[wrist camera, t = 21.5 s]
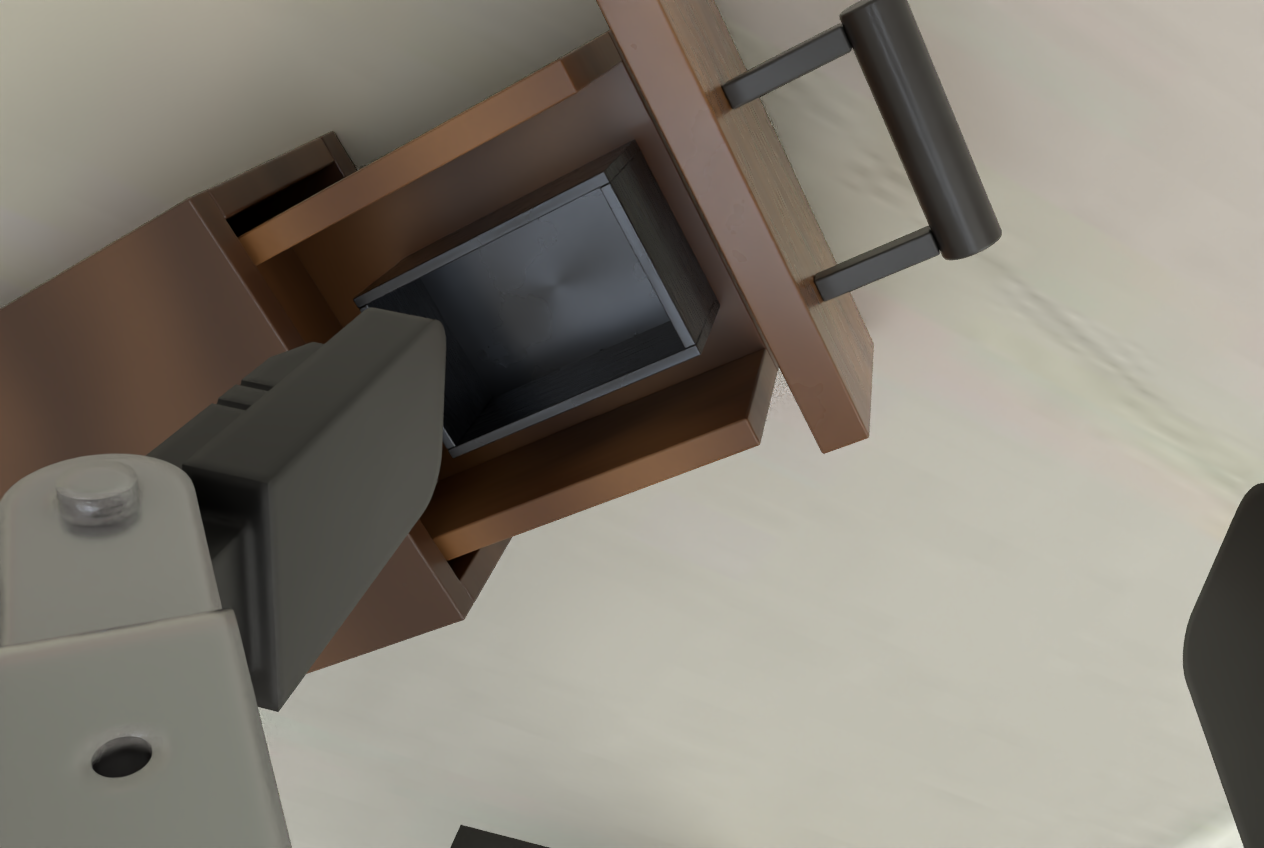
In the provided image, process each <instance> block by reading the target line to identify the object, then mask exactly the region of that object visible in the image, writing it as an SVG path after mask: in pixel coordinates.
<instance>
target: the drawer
mask: <svg viewBox="0 0 1264 848" xmlns="http://www.w3.org/2000/svg"><path fill="white" fill-rule="evenodd" d="M596 2H597V4H598V6H599V8H600V10H601V12H602V14H603V16H604V18H605V20H606V22H607V24H608V26H609V28H610V30H609V31H607V32H605V33H604V34H602V35H600V36H598V37H596V38H595V39H593V40H591V41H589V42H587V43H586V44H584V45H582V46H580V47H578V48H577V49H575V50H573V51H571V52H570V53H568V54H566V55H564V56H562V57H561V58H559V59H557V60H555V61H553V62H552V63H550V64H548V65H546V66H544V67H543V68H541V69H539V70H537V71H535V72H534V73H532V74H530V75H528V76H526V77H525V78H523V79H521V80H519V81H517V82H516V83H514V84H512V85H510V86H508V87H507V88H505V89H503V90H501V91H499V92H498V93H496V94H494V95H492V96H490V97H489V98H487V99H485V100H483V101H481V102H480V103H478V104H476V105H474V106H473V107H471V108H469V109H467V110H465V111H464V112H462V113H460V114H458V115H456V116H455V117H453V118H451V119H449V120H447V121H446V122H444V123H442V124H440V125H438V126H437V127H435V128H433V129H431V130H429V131H428V132H426V133H424V134H422V135H420V136H419V137H417V138H415V139H413V140H411V141H410V142H408V143H406V144H404V145H402V146H401V147H399V148H397V149H395V150H393V151H392V152H390V153H388V154H386V155H384V156H383V157H381V158H379V159H377V160H376V161H374V162H372V163H370V164H368V165H367V166H365V167H363V168H361V169H359V170H358V171H356V172H354V173H352V174H350V175H349V176H347V177H345V178H343V179H341V180H340V181H338V182H336V183H334V184H332V185H331V186H329V187H327V188H325V189H323V190H322V191H320V192H318V193H316V194H314V195H313V196H311V197H309V198H307V199H305V200H304V201H302V202H300V203H298V204H296V205H295V206H293V207H291V208H289V209H287V210H286V211H284V212H282V213H280V214H279V215H277V216H275V217H273V218H271V219H270V220H268V221H266V222H264V223H262V224H261V225H259V226H257V227H255V228H253V229H252V230H250V231H248V232H246V233H244V234H243V235H241V236H239V237H237V238H238V239H239V241H240V242H241V244H242V246H243V247H244V249H245V250H246V252H247V253H248V255H249V256H250V258H251V259H252V261H253V263H254V264H255V266H256V267H257V269H258V270H259V272H260V273H261V275H262V276H263V278H264V280H265V281H266V283H267V284H268V286H269V287H270V289H271V290H272V292H273V293H274V295H275V297H276V298H277V300H278V301H279V303H280V304H281V306H282V307H283V309H284V310H285V312H286V314H287V315H288V317H289V318H290V320H291V321H292V323H293V324H294V326H295V327H296V329H297V331H298V332H299V334H300V335H301V337H302V338H303V340H304V341H305V343H306V344H308V343H311V342H317V343H322V344H325V343H326V342H327V341H329V340H330V339H331V338H332V337H333V336H335V335H336V334H337V333H338V332H339V331H340V330H342V329H343V328H344V327H345V326H346V325H348V324H349V323H350V322H351V321H352V320H354V319H355V318H356V317H357V316H358V315H359V314H361V312H360V310H359V309H360V308H358V307H357V305H356V304H355V302H354V301H353V298H354V297H356V296H357V295H358V294H359V293H361V292H362V291H363V290H364V289H366V288H367V287H368V286H370V285H371V284H372V283H373V282H375V281H376V280H377V279H378V278H380V277H381V276H382V275H383V274H385V273H386V272H387V271H389V270H390V269H391V268H392V267H394V266H395V265H396V264H397V263H399V262H400V261H401V260H402V259H404V258H405V257H407V256H409V255H411V254H413V253H415V252H416V251H418V250H420V249H422V248H424V247H426V246H428V245H430V244H432V243H434V242H436V241H438V240H440V239H442V238H444V237H446V236H448V235H449V234H451V233H453V232H455V231H457V230H459V229H461V228H463V227H465V226H467V225H469V224H471V223H473V222H475V221H477V220H479V219H481V218H483V217H484V216H486V215H488V214H490V213H492V212H494V211H496V210H498V209H500V208H502V207H504V206H506V205H508V204H510V203H512V202H514V201H516V200H517V199H519V198H521V197H523V196H525V195H527V194H529V193H531V192H533V191H535V190H537V189H539V188H541V187H543V186H545V185H547V184H549V183H550V182H552V181H554V180H556V179H558V178H560V177H562V176H564V175H566V174H568V173H570V172H572V171H574V170H576V169H578V168H580V167H582V166H583V165H585V164H587V163H589V162H591V161H593V160H595V159H597V158H599V157H601V156H603V155H605V154H607V153H609V152H611V151H613V150H615V149H616V148H618V147H620V146H622V145H624V144H626V143H628V142H630V141H632V140H636V142H637V144H638V146H639V148H640V150H641V152H642V154H643V156H644V158H645V160H646V162H647V163H648V165H649V167H650V169H651V171H652V173H653V175H654V177H655V179H656V181H657V183H658V185H659V187H660V189H661V191H662V193H663V195H664V197H665V198H666V200H667V202H668V204H669V206H670V208H671V210H672V212H673V214H674V216H675V218H676V220H677V222H678V224H679V226H680V228H681V230H682V232H683V233H684V235H685V237H686V239H687V241H688V243H689V245H690V247H691V249H692V251H693V253H694V255H695V257H696V259H697V261H698V263H699V265H700V267H701V268H702V270H703V272H704V274H705V276H706V278H707V280H708V282H709V284H710V286H711V288H712V290H713V292H714V294H715V296H716V298H717V300H718V301H719V303H720V309H719V311H718V314H717V316H716V319H715V321H714V323H713V326H712V328H711V331H710V333H709V336H708V338H707V341H706V343H705V346H704V348H703V351H702V353H701V355H700V356H697V357H695V358H692V359H690V360H688V361H685V362H683V363H680V364H678V365H676V366H673V367H671V368H669V369H666V370H664V371H661V372H659V373H657V374H654V375H652V376H649V377H647V378H645V379H642V380H640V381H637V382H635V383H633V384H630V385H628V386H626V387H623V388H621V389H618V390H616V391H614V392H611V393H609V394H606V395H604V396H602V397H599V398H597V399H595V400H592V401H590V402H587V403H585V404H583V405H580V406H578V407H575V408H573V409H571V410H568V411H566V412H564V413H561V414H559V415H556V416H554V417H552V418H549V419H547V420H544V421H542V422H540V423H537V424H535V425H533V426H530V427H528V428H525V429H523V430H521V431H518V432H516V433H513V434H511V435H509V436H506V437H504V438H502V439H499V440H497V441H494V442H492V443H490V444H487V445H485V446H482V447H480V448H478V449H475V450H473V451H471V452H468V453H466V454H463V455H461V456H459V457H456V458H452V457H451V455H450V453H449V452H448V449H446V447H445V445H444V444H443V442H442V458H441V465H440V471H439V475H438V479H437V483H436V486H435V490H434V492H433V495H432V498H431V500H430V502H429V504H428V506H427V508H426V510H425V511H424V513H423V514H422V515H421V517H420V518H419V519H420V521H421V522H422V524H423V525H424V527H425V528H426V530H427V531H428V533H429V535H430V536H431V538H432V539H433V541H434V542H435V544H436V545H437V547H438V548H439V550H440V552H441V553H442V555H443V556H444V558H445V559H446V561H448V560H451V559H453V558H456V557H459V556H462V555H464V554H467V553H470V552H472V551H475V550H478V549H480V548H483V547H486V546H488V545H491V544H494V543H497V542H499V541H502V540H505V539H507V538H510V537H513V536H515V535H518V534H521V533H523V532H526V531H529V530H532V529H534V528H537V527H540V526H542V525H545V524H548V523H550V522H553V521H556V520H559V519H561V518H564V517H567V516H569V515H572V514H575V513H577V512H580V511H583V510H585V509H588V508H591V507H594V506H596V505H599V504H602V503H604V502H607V501H610V500H612V499H615V498H618V497H621V496H623V495H626V494H629V493H631V492H634V491H637V490H639V489H642V488H645V487H647V486H650V485H653V484H656V483H658V482H661V481H664V480H666V479H669V478H672V477H674V476H677V475H680V474H682V473H685V472H688V471H691V470H693V469H696V468H699V467H701V466H704V465H707V464H709V463H712V462H715V461H718V460H720V459H723V458H726V457H728V456H731V455H734V454H736V453H739V452H742V451H744V450H747V449H750V448H753V447H755V446H758V445H759V444H760V442H761V438H762V434H763V430H764V426H765V421H766V417H767V413H768V409H769V405H770V401H771V396H772V392H773V388H774V384H775V380H776V376H777V371H778V368H780V370H781V372H782V374H783V376H784V378H785V380H786V382H787V384H788V386H789V388H790V390H791V392H792V394H793V396H794V398H795V400H796V402H797V404H798V406H799V408H800V410H801V412H802V414H803V416H804V418H805V420H806V422H807V424H808V426H809V428H810V430H811V432H812V434H813V436H814V438H815V440H816V442H817V444H818V446H819V448H820V450H821V452H822V453H823V454H825V453H827V452H830V451H833V450H836V449H839V448H841V447H844V446H847V445H850V444H853V443H855V442H858V441H861V440H864V439H866V438H868V437H869V430H870V411H871V391H872V371H873V352H874V343H873V341H872V339H871V337H870V335H869V332H868V330H867V328H866V326H865V324H864V322H863V320H862V317H861V315H860V313H859V311H858V309H857V307H856V305H855V302H854V300H853V298H852V296H851V294H850V291H853V290H855V289H857V288H860V287H862V286H865V285H867V284H870V283H872V282H874V281H877V280H879V279H882V278H884V277H886V276H889V275H891V274H894V273H896V272H899V271H901V270H903V269H906V268H908V267H911V266H913V265H915V264H918V263H920V262H923V261H925V260H927V259H930V258H932V257H935V256H937V255H939V254H940V252H941V254H942V256H943V257H944V258H945V259H946V260H958V259H962V258H966V257H969V256H972V255H975V254H977V253H979V252H981V251H983V250H985V249H987V248H988V247H990V246H991V245H993V244H994V243H995V242H997V241H998V240H999V239H1000V237H1001V235H1002V230H1001V228H1000V226H999V223H998V221H997V218H996V216H995V213H994V211H993V209H992V206H991V204H990V201H989V199H988V196H987V194H986V191H985V189H984V187H983V184H982V182H981V179H980V177H979V174H978V172H977V170H976V167H975V165H974V162H973V160H972V157H971V155H970V152H969V150H968V148H967V145H966V143H965V140H964V138H963V135H962V133H961V131H960V128H959V126H958V123H957V121H956V118H955V116H954V113H953V111H952V109H951V106H950V104H949V101H948V99H947V96H946V94H945V92H944V89H943V87H942V84H941V82H940V79H939V77H938V74H937V72H936V70H935V67H934V65H933V62H932V60H931V57H930V55H929V53H928V50H927V48H926V45H925V43H924V40H923V38H922V35H921V33H920V31H919V28H918V26H917V23H916V21H915V18H914V16H913V14H912V11H911V9H910V6H909V4H908V1H907V0H861V1H859V2H857V3H855V4H853V5H852V6H850V7H848V8H847V9H845V10H844V11H843V12H842V13H841V14H840V20H841V24H837V25H835V26H833V27H832V28H830V29H828V30H826V31H824V32H822V33H820V34H818V35H816V36H814V37H812V38H810V39H808V40H806V41H804V42H802V43H800V44H798V45H796V46H794V47H793V48H791V49H789V50H787V51H785V52H783V53H781V54H779V55H777V56H775V57H773V58H771V59H769V60H767V61H765V62H763V63H761V64H759V65H757V66H755V67H754V68H752V69H750V70H748V71H746V68H745V66H744V64H743V62H742V60H741V58H740V56H739V53H738V51H737V49H736V47H735V45H734V43H733V41H732V38H731V36H730V34H729V32H728V30H727V28H726V25H725V23H724V21H723V19H722V17H721V15H720V13H719V10H718V8H717V6H716V4H715V2H714V0H596ZM852 48H853V50H854V53H855V55H856V57H857V60H858V62H859V64H860V67H861V69H862V71H863V74H864V76H865V78H866V81H867V83H868V85H869V87H870V90H871V92H872V94H873V97H874V99H875V101H876V104H877V106H878V108H879V111H880V113H881V115H882V118H883V120H884V122H885V125H886V127H887V129H888V131H889V134H890V136H891V138H892V141H893V143H894V145H895V148H896V150H897V152H898V155H899V157H900V159H901V162H902V164H903V166H904V169H905V171H906V173H907V175H908V178H909V180H910V182H911V185H912V187H913V189H914V192H915V194H916V196H917V199H918V201H919V203H920V206H921V208H922V210H923V212H924V215H925V217H926V219H927V222H928V224H929V226H927V227H924V228H922V229H919V230H917V231H915V232H912V233H910V234H908V235H905V236H903V237H901V238H898V239H896V240H894V241H891V242H889V243H887V244H884V245H882V246H880V247H877V248H875V249H873V250H870V251H868V252H865V253H863V254H861V255H858V256H856V257H854V258H851V259H849V260H847V261H844V262H842V263H840V264H836V262H835V259H834V257H833V255H832V253H831V251H830V249H829V247H828V244H827V242H826V240H825V238H824V236H823V234H822V232H821V229H820V227H819V225H818V223H817V221H816V219H815V217H814V214H813V212H812V210H811V208H810V206H809V204H808V202H807V199H806V197H805V195H804V193H803V191H802V189H801V186H800V184H799V182H798V180H797V178H796V176H795V174H794V171H793V169H792V167H791V165H790V163H789V161H788V159H787V156H786V154H785V152H784V150H783V148H782V146H781V144H780V141H779V139H778V137H777V135H776V133H775V131H774V129H773V126H772V124H771V122H770V120H769V118H768V116H767V113H766V111H765V109H764V107H763V105H762V103H761V101H760V98H759V97H761V96H763V95H765V94H767V93H769V92H771V91H773V90H775V89H777V88H779V87H781V86H783V85H785V84H787V83H789V82H791V81H793V80H795V79H797V78H799V77H801V76H803V75H805V74H807V73H809V72H811V71H813V70H815V69H817V68H819V67H821V66H823V65H825V64H827V63H829V62H831V61H833V60H835V59H837V58H839V57H841V56H843V55H845V54H847V53H849V52H850V51H851V49H852ZM939 250H940V251H939Z"/></svg>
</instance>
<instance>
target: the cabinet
mask: <svg viewBox="0 0 1264 848" xmlns="http://www.w3.org/2000/svg"><path fill="white" fill-rule="evenodd" d="M356 171H357V170H356V168H355V167H354V165H353V163H352V162H351V160H350V158H349V157H348V155H347V153H346V152H345V150H344V148H343V147H342V145H341V143H340V142H339V140H338V138H337V137H336V135H335V133H334V132H333V131H332V132H329V133H327V134H325V135H323V136H321V137H319V138H316V139H314V140H312V141H310V142H308V143H306V144H304V145H301V146H299V147H297V148H295V149H293V150H291V151H288V152H286V153H284V154H282V155H280V156H278V157H276V158H273V159H271V160H269V161H267V162H265V163H263V164H261V165H258V166H256V167H254V168H252V169H250V170H248V171H245V172H243V173H241V174H239V175H237V176H235V177H233V178H230V179H228V180H226V181H224V182H222V183H220V184H217V185H215V186H213V187H211V188H209V189H207V190H205V191H202V192H200V193H198V194H196V195H194V196H191V197H189V198H187V199H186V200H184V201H182V202H181V203H179V204H177V205H175V206H174V207H172V208H170V209H169V210H167V211H165V212H164V213H162V214H160V215H158V216H157V217H155V218H153V219H152V220H150V221H148V222H147V223H145V224H143V225H141V226H140V227H138V228H136V229H135V230H133V231H131V232H130V233H128V234H126V235H124V236H123V237H121V238H119V239H118V240H116V241H114V242H113V243H111V244H109V245H107V246H106V247H104V248H102V249H101V250H99V251H97V252H96V253H94V254H92V255H90V256H89V257H87V258H85V259H84V260H82V261H80V262H79V263H77V264H75V265H73V266H72V267H70V268H68V269H67V270H65V271H63V272H62V273H60V274H58V275H56V276H55V277H53V278H51V279H50V280H48V281H46V282H45V283H43V284H41V285H39V286H38V287H36V288H34V289H33V290H31V291H29V292H28V293H26V294H24V295H22V296H21V297H19V298H17V299H16V300H14V301H12V302H11V303H9V304H7V305H5V306H4V307H2V308H0V501H1V499H2V498H3V496H4V494H5V493H6V492H7V491H8V490H9V489H10V488H11V487H12V486H13V485H14V484H15V483H17V482H18V481H19V480H21V479H22V478H24V477H26V476H27V475H29V474H31V473H33V472H34V471H37V470H39V469H41V468H44V467H46V466H49V465H52V464H55V463H58V462H61V461H64V460H69V459H73V458H77V457H83V456H90V455H99V454H134V455H143V456H146V455H147V454H148V453H149V452H151V451H152V450H153V449H155V448H156V447H157V446H158V445H160V444H161V443H162V442H163V441H165V440H166V439H167V438H168V437H170V436H171V435H172V434H174V433H175V432H176V431H177V430H179V429H180V428H181V427H182V426H184V425H185V424H186V423H187V422H189V421H190V420H191V419H192V418H194V417H195V416H196V415H198V414H199V413H200V412H201V411H203V410H204V409H205V408H206V407H208V406H209V405H210V404H211V403H213V404H217V401H218V398H219V397H220V396H222V395H223V394H224V393H225V392H227V391H228V390H229V389H230V388H232V387H233V386H234V385H235V384H236V385H240V384H241V380H242V379H243V378H244V377H246V376H247V375H248V374H249V373H251V372H252V371H253V370H254V369H256V368H257V367H258V366H260V365H261V364H262V363H263V362H265V361H266V360H267V359H268V358H270V357H272V356H275V355H278V354H281V353H283V352H286V351H289V350H292V349H294V348H297V347H300V346H303V345H305V344H306V343H305V341H304V340H303V338H302V337H301V335H300V334H299V332H298V331H297V329H296V327H295V326H294V324H293V323H292V321H291V320H290V318H289V317H288V315H287V314H286V312H285V310H284V309H283V307H282V306H281V304H280V303H279V301H278V300H277V298H276V297H275V295H274V293H273V292H272V290H271V289H270V287H269V286H268V284H267V283H266V281H265V280H264V278H263V276H262V275H261V273H260V272H259V270H258V269H257V267H256V266H255V264H254V263H253V261H252V259H251V258H250V256H249V255H248V253H247V252H246V250H245V249H244V247H243V246H242V244H241V242H240V241H239V239H238V238H237V237H239V236H241V235H243V234H244V233H246V232H248V231H250V230H252V229H253V228H255V227H257V226H259V225H261V224H262V223H264V222H266V221H268V220H270V219H271V218H273V217H275V216H277V215H279V214H280V213H282V212H284V211H286V210H287V209H289V208H291V207H293V206H295V205H296V204H298V203H300V202H302V201H304V200H305V199H307V198H309V197H311V196H313V195H314V194H316V193H318V192H320V191H322V190H323V189H325V188H327V187H329V186H331V185H332V184H334V183H336V182H338V181H340V180H341V179H343V178H345V177H347V176H349V175H350V174H352V173H354V172H356ZM511 538H512V537H510V538H507V539H505V540H502V541H499V542H497V543H494V544H491V545H488V546H486V547H483V548H480V549H478V550H475V551H472V552H470V553H467V554H464V555H462V556H459V557H456V558H453V559H451V560H448V561H446V559H445V558H444V556H443V555H442V553H441V552H440V550H439V548H438V547H437V545H436V544H435V542H434V541H433V539H432V538H431V536H430V535H429V533H428V531H427V530H426V528H425V527H424V525H423V524H422V522H421V521H420V519H418V521H417V522H416V524H415V525H414V526H413V528H412V529H411V530H410V532H409V533H408V535H407V536H406V537H405V539H404V540H403V541H402V543H401V544H400V546H399V547H398V548H397V550H396V551H395V552H394V554H393V555H392V557H391V558H390V559H389V561H388V562H387V563H386V565H385V566H384V568H383V569H382V570H381V572H380V573H379V574H378V576H377V577H376V579H375V580H374V581H373V583H372V584H371V585H370V587H369V588H368V589H367V591H366V592H365V594H364V595H363V596H362V598H361V599H360V600H359V602H358V603H357V605H356V606H355V607H354V609H353V610H352V611H351V613H350V614H349V616H348V617H347V618H346V620H345V621H344V622H343V624H342V625H341V627H340V628H339V629H338V631H337V632H336V633H335V635H334V636H333V638H332V639H331V640H330V642H329V643H328V644H327V646H326V647H325V649H324V650H323V651H322V653H321V654H320V655H319V657H318V658H317V660H316V661H315V662H314V664H313V665H312V666H311V668H310V669H309V671H308V672H307V673H306V674H308V673H310V672H313V671H316V670H319V669H322V668H325V667H328V666H331V665H334V664H337V663H340V662H342V661H345V660H348V659H351V658H354V657H357V656H360V655H363V654H366V653H369V652H372V651H374V650H377V649H380V648H383V647H386V646H389V645H392V644H395V643H398V642H401V641H404V640H406V639H409V638H412V637H415V636H418V635H421V634H424V633H427V632H430V631H433V630H436V629H438V628H441V627H444V626H447V625H450V624H453V623H456V622H459V621H462V620H464V619H465V618H466V616H467V614H468V612H469V611H470V609H471V607H472V605H473V603H474V602H475V601H476V599H477V597H478V595H479V594H480V592H481V590H482V588H483V587H484V585H485V583H486V581H487V580H488V578H489V576H490V575H491V573H492V571H493V569H494V568H495V566H496V564H497V562H498V561H499V559H500V557H501V555H502V554H503V552H504V550H505V549H506V547H507V545H508V543H509V542H510V540H511Z"/></svg>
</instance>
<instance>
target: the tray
mask: <svg viewBox="0 0 1264 848" xmlns="http://www.w3.org/2000/svg"><path fill="white" fill-rule="evenodd" d="M353 301H354V302H355V304H356V305H357V307H358V308H360V309H359V310H360V312H361V313H362V312H363V311H364V310H366V309H367V308H370V307H373V308H378V309H383V310H388V311H393V312H398V313H403V314H409V315H414V316H419V317H424V318H429V319H434V320H439V321H440V322H441V323H442V325H443V327H444V330H445V336H446V363H445V388H444V413H443V439H442V442H443V444H444V445H445V447H446V449H448V452H449V453H450V455H451V457H452V458H456V457H459V456H461V455H463V454H466V453H468V452H471V451H473V450H475V449H478V448H480V447H482V446H485V445H487V444H490V443H492V442H494V441H497V440H499V439H502V438H504V437H506V436H509V435H511V434H513V433H516V432H518V431H521V430H523V429H525V428H528V427H530V426H533V425H535V424H537V423H540V422H542V421H544V420H547V419H549V418H552V417H554V416H556V415H559V414H561V413H564V412H566V411H568V410H571V409H573V408H575V407H578V406H580V405H583V404H585V403H587V402H590V401H592V400H595V399H597V398H599V397H602V396H604V395H606V394H609V393H611V392H614V391H616V390H618V389H621V388H623V387H626V386H628V385H630V384H633V383H635V382H637V381H640V380H642V379H645V378H647V377H649V376H652V375H654V374H657V373H659V372H661V371H664V370H666V369H669V368H671V367H673V366H676V365H678V364H680V363H683V362H685V361H688V360H690V359H692V358H695V357H697V356H700V355H701V353H702V351H703V348H704V346H705V343H706V341H707V338H708V336H709V333H710V331H711V328H712V326H713V323H714V321H715V319H716V316H717V314H718V311H719V309H720V303H719V301H718V300H717V298H716V296H715V294H714V292H713V290H712V288H711V286H710V284H709V282H708V280H707V278H706V276H705V274H704V272H703V270H702V268H701V267H700V265H699V263H698V261H697V259H696V257H695V255H694V253H693V251H692V249H691V247H690V245H689V243H688V241H687V239H686V237H685V235H684V233H683V232H682V230H681V228H680V226H679V224H678V222H677V220H676V218H675V216H674V214H673V212H672V210H671V208H670V206H669V204H668V202H667V200H666V198H665V197H664V195H663V193H662V191H661V189H660V187H659V185H658V183H657V181H656V179H655V177H654V175H653V173H652V171H651V169H650V167H649V165H648V163H647V162H646V160H645V158H644V156H643V154H642V152H641V150H640V148H639V146H638V144H637V142H636V140H632V141H630V142H628V143H626V144H624V145H622V146H620V147H618V148H616V149H615V150H613V151H611V152H609V153H607V154H605V155H603V156H601V157H599V158H597V159H595V160H593V161H591V162H589V163H587V164H585V165H583V166H582V167H580V168H578V169H576V170H574V171H572V172H570V173H568V174H566V175H564V176H562V177H560V178H558V179H556V180H554V181H552V182H550V183H549V184H547V185H545V186H543V187H541V188H539V189H537V190H535V191H533V192H531V193H529V194H527V195H525V196H523V197H521V198H519V199H517V200H516V201H514V202H512V203H510V204H508V205H506V206H504V207H502V208H500V209H498V210H496V211H494V212H492V213H490V214H488V215H486V216H484V217H483V218H481V219H479V220H477V221H475V222H473V223H471V224H469V225H467V226H465V227H463V228H461V229H459V230H457V231H455V232H453V233H451V234H449V235H448V236H446V237H444V238H442V239H440V240H438V241H436V242H434V243H432V244H430V245H428V246H426V247H424V248H422V249H420V250H418V251H416V252H415V253H413V254H411V255H409V256H407V257H405V258H404V259H402V260H401V261H400V262H399V263H397V264H396V265H395V266H394V267H392V268H391V269H390V270H389V271H387V272H386V273H385V274H383V275H382V276H381V277H380V278H378V279H377V280H376V281H375V282H373V283H372V284H371V285H370V286H368V287H367V288H366V289H364V290H363V291H362V292H361V293H359V294H358V295H357V296H356V297H354V298H353Z"/></svg>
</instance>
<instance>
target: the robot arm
mask: <svg viewBox="0 0 1264 848" xmlns="http://www.w3.org/2000/svg"><path fill="white" fill-rule="evenodd" d="M445 363H446V336H445V330H444V327H443V325H442V323H441V322H440V321H439V320H434V319H429V318H424V317H419V316H414V315H409V314H403V313H398V312H393V311H388V310H383V309H378V308H373V307H370V308H367V309H366V310H364V311H363V312H362V313H361V314H359V315H358V316H357V317H356V318H355V319H354V320H352V321H351V322H350V323H349V324H348V325H346V326H345V327H344V328H343V329H342V330H340V331H339V332H338V333H337V334H336V335H335V336H333V337H332V338H331V339H330V340H329V341H327V342H326V343H325V344H322V343H317V342H311V343H308V344H305V345H303V346H300V347H297V348H294V349H292V350H289V351H286V352H283V353H281V354H278V355H275V356H272V357H270V358H268V359H267V360H266V361H265V362H263V363H262V364H261V365H260V366H258V367H257V368H256V369H254V370H253V371H252V372H251V373H249V374H248V375H247V376H246V377H244V378H243V379H242V380H241V384H240V385H236V384H235V385H234V386H233V387H232V388H230V389H229V390H228V391H227V392H225V393H224V394H223V395H222V396H220V397H219V398H218V401H217V404H213V403H211V404H210V405H209V406H208V407H206V408H205V409H204V410H203V411H201V412H200V413H199V414H198V415H196V416H195V417H194V418H192V419H191V420H190V421H189V422H187V423H186V424H185V425H184V426H182V427H181V428H180V429H179V430H177V431H176V432H175V433H174V434H172V435H171V436H170V437H168V438H167V439H166V440H165V441H163V442H162V443H161V444H160V445H158V446H157V447H156V448H155V449H153V450H152V451H151V452H149V453H148V454H147V455H146V456H143V455H134V454H99V455H90V456H83V457H77V458H73V459H69V460H64V461H61V462H58V463H55V464H52V465H49V466H46V467H44V468H41V469H39V470H37V471H34V472H33V473H31V474H29V475H27V476H26V477H24V478H22V479H21V480H19V481H18V482H17V483H15V484H14V485H13V486H12V487H11V488H10V489H9V490H8V491H7V492H6V493H5V494H4V496H3V498H2V499H1V501H0V848H292V846H291V842H290V838H289V834H288V830H287V826H286V821H285V817H284V813H283V809H282V805H281V801H280V797H279V793H278V788H277V784H276V780H275V776H274V772H273V768H272V764H271V760H270V756H269V751H268V747H267V743H266V739H265V735H264V731H263V727H262V723H261V718H260V714H259V710H258V707H261V708H265V709H269V710H273V711H277V712H279V710H280V709H281V708H282V706H283V705H284V703H285V702H286V701H287V699H288V698H289V697H290V695H291V694H292V692H293V691H294V690H295V688H296V687H297V686H298V684H299V683H300V681H301V680H302V679H303V677H304V676H305V675H306V673H307V672H308V671H309V669H310V668H311V666H312V665H313V664H314V662H315V661H316V660H317V658H318V657H319V655H320V654H321V653H322V651H323V650H324V649H325V647H326V646H327V644H328V643H329V642H330V640H331V639H332V638H333V636H334V635H335V633H336V632H337V631H338V629H339V628H340V627H341V625H342V624H343V622H344V621H345V620H346V618H347V617H348V616H349V614H350V613H351V611H352V610H353V609H354V607H355V606H356V605H357V603H358V602H359V600H360V599H361V598H362V596H363V595H364V594H365V592H366V591H367V589H368V588H369V587H370V585H371V584H372V583H373V581H374V580H375V579H376V577H377V576H378V574H379V573H380V572H381V570H382V569H383V568H384V566H385V565H386V563H387V562H388V561H389V559H390V558H391V557H392V555H393V554H394V552H395V551H396V550H397V548H398V547H399V546H400V544H401V543H402V541H403V540H404V539H405V537H406V536H407V535H408V533H409V532H410V530H411V529H412V528H413V526H414V525H415V524H416V522H417V521H418V519H419V518H420V517H421V515H422V514H423V513H424V511H425V510H426V508H427V506H428V504H429V502H430V500H431V498H432V495H433V492H434V490H435V486H436V483H437V479H438V475H439V471H440V465H441V458H442V439H443V413H444V388H445ZM1183 669H1184V676H1185V679H1186V683H1187V686H1188V689H1189V691H1190V694H1191V697H1192V700H1193V703H1194V706H1195V709H1196V711H1197V714H1198V717H1199V720H1200V723H1201V726H1202V729H1203V731H1204V734H1205V737H1206V740H1207V743H1208V746H1209V749H1210V751H1211V754H1212V757H1213V760H1214V763H1215V766H1216V769H1217V771H1218V774H1219V777H1220V780H1221V783H1222V786H1223V789H1224V791H1225V794H1226V797H1227V800H1228V803H1229V806H1230V809H1231V812H1232V814H1233V817H1234V820H1235V823H1236V826H1237V829H1238V832H1239V834H1240V837H1241V840H1242V843H1243V846H1244V848H1264V483H1260V484H1257V485H1255V486H1253V487H1252V488H1251V489H1250V490H1249V491H1248V492H1247V493H1246V495H1245V496H1244V498H1243V499H1242V501H1241V503H1240V505H1239V507H1238V509H1237V511H1236V513H1235V515H1234V518H1233V520H1232V522H1231V524H1230V527H1229V529H1228V531H1227V534H1226V536H1225V538H1224V540H1223V543H1222V545H1221V547H1220V550H1219V552H1218V554H1217V556H1216V559H1215V561H1214V563H1213V565H1212V568H1211V570H1210V572H1209V575H1208V577H1207V579H1206V581H1205V584H1204V586H1203V588H1202V590H1201V593H1200V595H1199V597H1198V600H1197V602H1196V604H1195V606H1194V609H1193V611H1192V613H1191V616H1190V619H1189V622H1188V625H1187V629H1186V634H1185V639H1184V647H1183ZM451 848H549V847H545V846H541V845H537V844H533V843H529V842H525V841H521V840H518V839H514V838H510V837H506V836H502V835H498V834H494V833H490V832H487V831H483V830H479V829H475V828H471V827H467V826H463V825H461V826H460V828H459V830H458V832H457V835H456V837H455V839H454V841H453V843H452V846H451Z"/></svg>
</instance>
